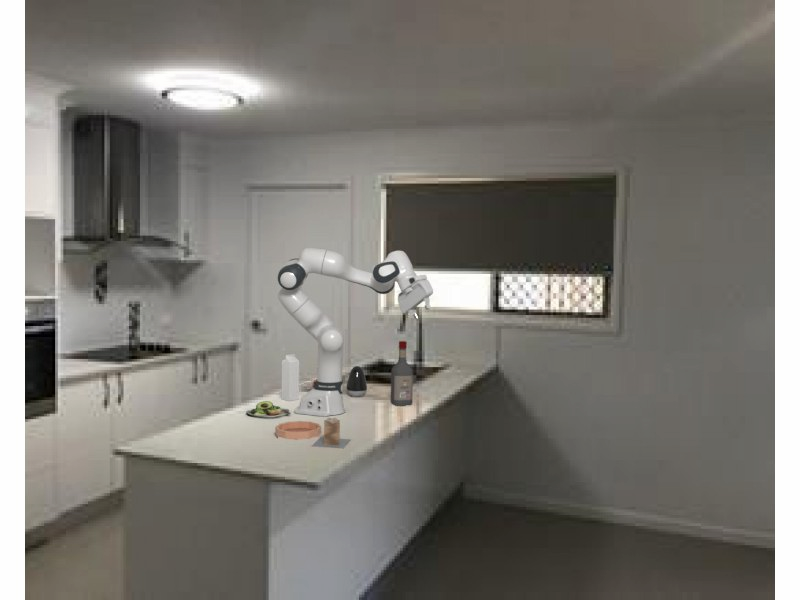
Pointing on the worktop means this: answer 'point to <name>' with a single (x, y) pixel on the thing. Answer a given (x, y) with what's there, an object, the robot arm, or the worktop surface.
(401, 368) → the liquor
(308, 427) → the bowl
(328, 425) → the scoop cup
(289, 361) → the milk
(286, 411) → the salad plate
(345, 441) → the parts tray
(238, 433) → the worktop surface
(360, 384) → the black egg-shaped dome
